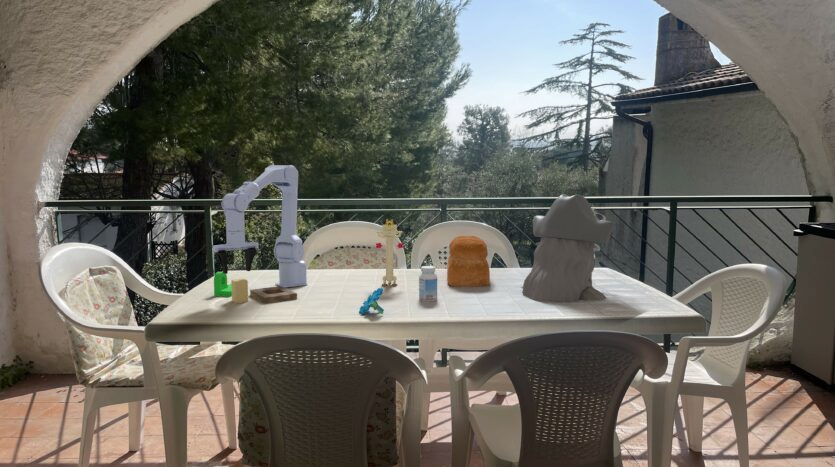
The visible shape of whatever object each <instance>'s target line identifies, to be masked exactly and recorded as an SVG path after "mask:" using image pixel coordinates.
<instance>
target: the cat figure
mask: <svg viewBox="0 0 835 467" xmlns="http://www.w3.org/2000/svg"><path fill="white" fill-rule="evenodd" d="M382 223H383V224H382V226H381V228H382V229H381V230H376V233H377V234H378V237H379V238H381V239H383V238H385V245H383V244H382V242H376V243H375V248H377V249H382V248H383V247H385V274H384V275H383V276H382V281H383V282H382V283H381V286H382V287H387V286H388V284H391V286H392V287H396V286H398V283H397V275H396V274H394V247H397V249H403V248H404V243H402V242H398V244H397V245H394V239H398V238H400V237H401V236H402V234H403V231H402V230H398V227H397V226H398V225H397V222H396V221H395V220H394V219H391V220H389V219H385V220H384V221H383V222H382ZM387 282H388V283H387ZM392 282H393V283H392Z"/></svg>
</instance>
